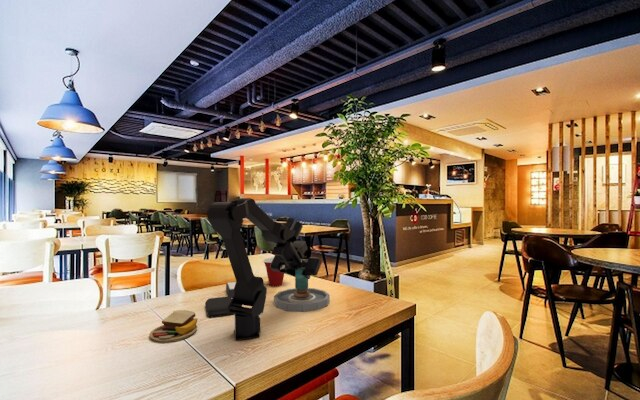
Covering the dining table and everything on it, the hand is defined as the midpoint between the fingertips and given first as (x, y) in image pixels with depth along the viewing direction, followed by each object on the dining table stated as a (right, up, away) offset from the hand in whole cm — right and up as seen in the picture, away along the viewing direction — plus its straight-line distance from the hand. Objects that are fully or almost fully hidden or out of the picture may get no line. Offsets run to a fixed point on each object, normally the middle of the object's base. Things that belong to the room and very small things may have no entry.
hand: (303, 277), depth 121 cm
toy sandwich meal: (-36, -10, -28) cm, 47 cm away
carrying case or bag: (-28, -10, -8) cm, 31 cm away
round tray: (-1, -9, -1) cm, 9 cm away
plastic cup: (-14, -9, +23) cm, 29 cm away
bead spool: (-1, -7, -1) cm, 7 cm away
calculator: (-24, -10, +12) cm, 29 cm away
